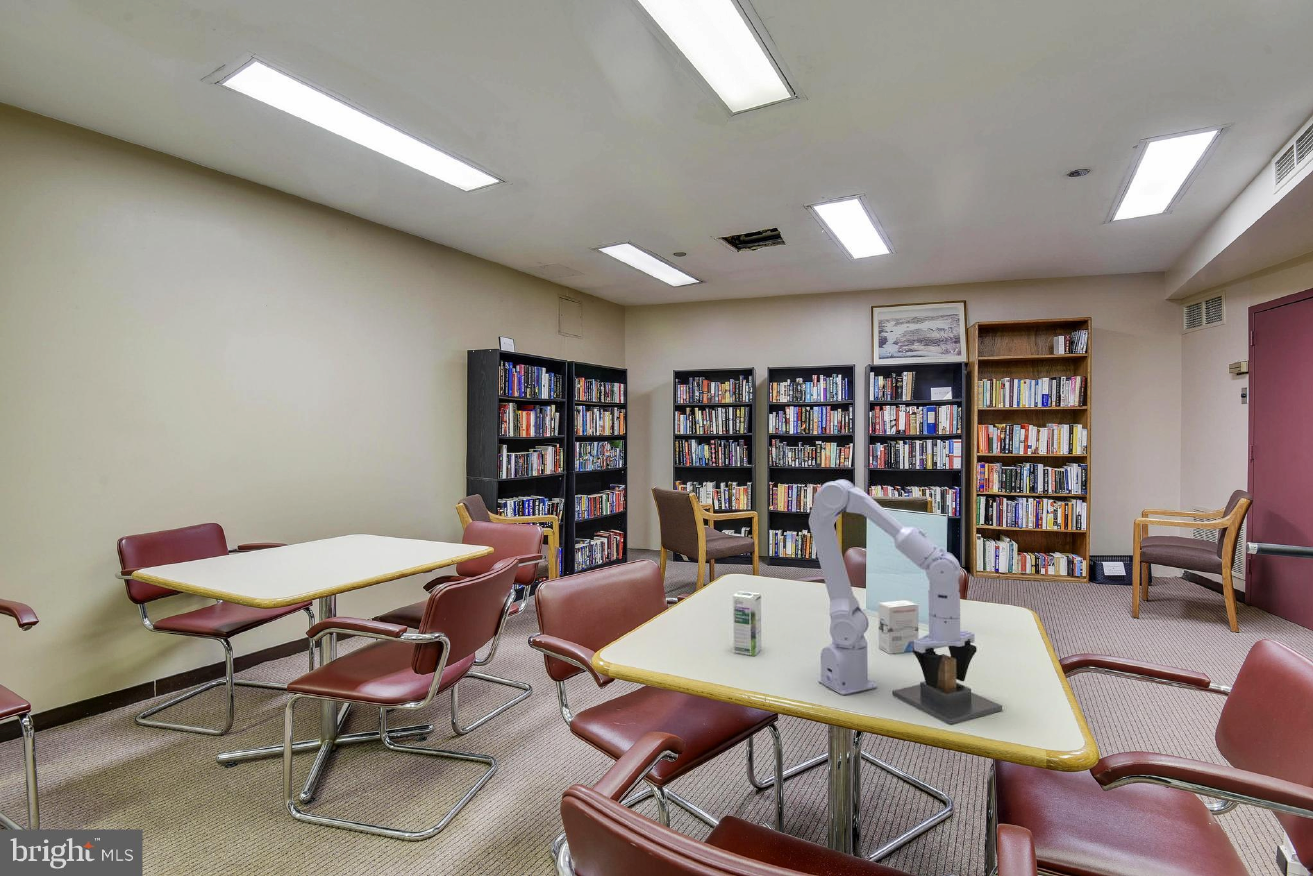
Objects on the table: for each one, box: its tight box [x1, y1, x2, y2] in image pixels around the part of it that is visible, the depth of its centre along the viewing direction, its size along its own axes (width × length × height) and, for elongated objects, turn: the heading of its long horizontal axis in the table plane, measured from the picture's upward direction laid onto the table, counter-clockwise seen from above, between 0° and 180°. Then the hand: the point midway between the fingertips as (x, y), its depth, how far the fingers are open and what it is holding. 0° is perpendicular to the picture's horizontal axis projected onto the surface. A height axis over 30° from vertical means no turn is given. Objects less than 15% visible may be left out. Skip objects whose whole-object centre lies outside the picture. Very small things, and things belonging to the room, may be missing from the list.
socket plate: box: [891, 680, 1003, 725], centre depth 119 cm, size 14×14×4 cm
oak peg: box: [937, 653, 957, 692], centre depth 119 cm, size 3×3×8 cm
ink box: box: [878, 599, 919, 655], centre depth 150 cm, size 9×5×12 cm, turn 106°
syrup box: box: [732, 590, 762, 657], centre depth 150 cm, size 6×6×14 cm
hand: (945, 682), depth 119 cm, fingers open, 7 cm apart
